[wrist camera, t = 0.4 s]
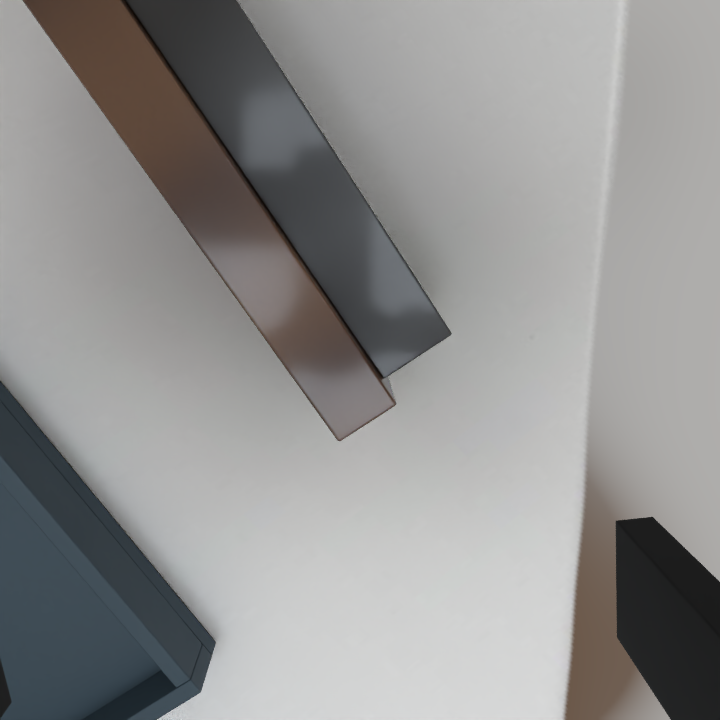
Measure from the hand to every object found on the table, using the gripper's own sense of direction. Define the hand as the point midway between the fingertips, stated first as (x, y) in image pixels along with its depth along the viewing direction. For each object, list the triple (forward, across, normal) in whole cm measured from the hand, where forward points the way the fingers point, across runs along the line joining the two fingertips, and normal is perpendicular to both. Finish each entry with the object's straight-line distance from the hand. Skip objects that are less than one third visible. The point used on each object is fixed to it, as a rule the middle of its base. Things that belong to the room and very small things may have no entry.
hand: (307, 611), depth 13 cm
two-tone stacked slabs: (+17, -1, +9) cm, 19 cm away
